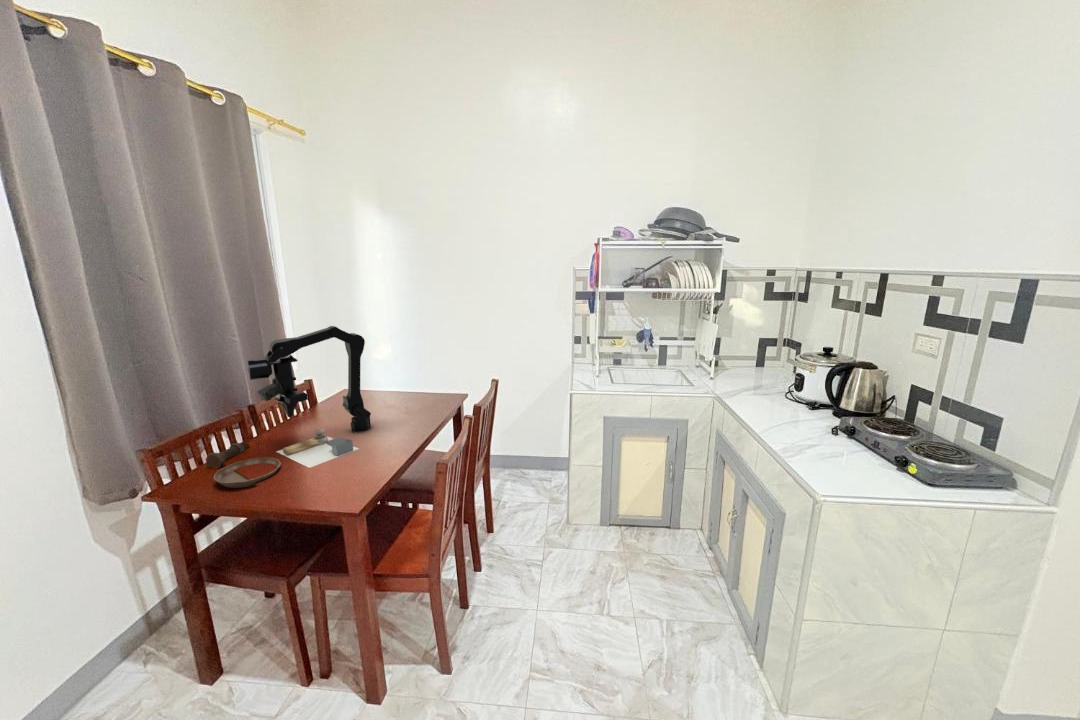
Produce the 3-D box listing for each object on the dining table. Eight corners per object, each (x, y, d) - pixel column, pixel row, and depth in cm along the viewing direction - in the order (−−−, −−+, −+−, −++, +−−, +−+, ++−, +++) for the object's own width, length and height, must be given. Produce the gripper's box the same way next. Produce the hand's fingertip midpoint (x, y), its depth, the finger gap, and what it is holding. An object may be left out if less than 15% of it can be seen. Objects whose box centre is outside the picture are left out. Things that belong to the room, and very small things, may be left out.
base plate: (325, 437, 170) (325, 435, 170) (359, 451, 157) (359, 448, 156) (276, 454, 155) (276, 451, 155) (309, 470, 142) (309, 467, 142)
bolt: (249, 454, 160) (216, 472, 145) (237, 448, 160) (203, 465, 145) (255, 441, 159) (222, 458, 144) (242, 435, 159) (209, 450, 144)
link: (323, 439, 165) (321, 427, 164) (329, 441, 163) (327, 430, 162) (282, 452, 153) (280, 440, 152) (288, 455, 151) (286, 443, 150)
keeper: (342, 445, 159) (341, 436, 158) (353, 450, 155) (352, 440, 154) (326, 451, 154) (325, 441, 154) (337, 456, 150) (336, 446, 150)
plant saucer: (283, 461, 151) (281, 452, 150) (279, 483, 135) (278, 473, 134) (221, 472, 143) (219, 463, 142) (210, 497, 127) (208, 487, 127)
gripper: (247, 376, 154) (254, 418, 157) (271, 384, 143) (278, 428, 147) (280, 370, 163) (286, 409, 166) (305, 376, 152) (311, 419, 155)
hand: (289, 416), depth 158 cm, fingers closed
